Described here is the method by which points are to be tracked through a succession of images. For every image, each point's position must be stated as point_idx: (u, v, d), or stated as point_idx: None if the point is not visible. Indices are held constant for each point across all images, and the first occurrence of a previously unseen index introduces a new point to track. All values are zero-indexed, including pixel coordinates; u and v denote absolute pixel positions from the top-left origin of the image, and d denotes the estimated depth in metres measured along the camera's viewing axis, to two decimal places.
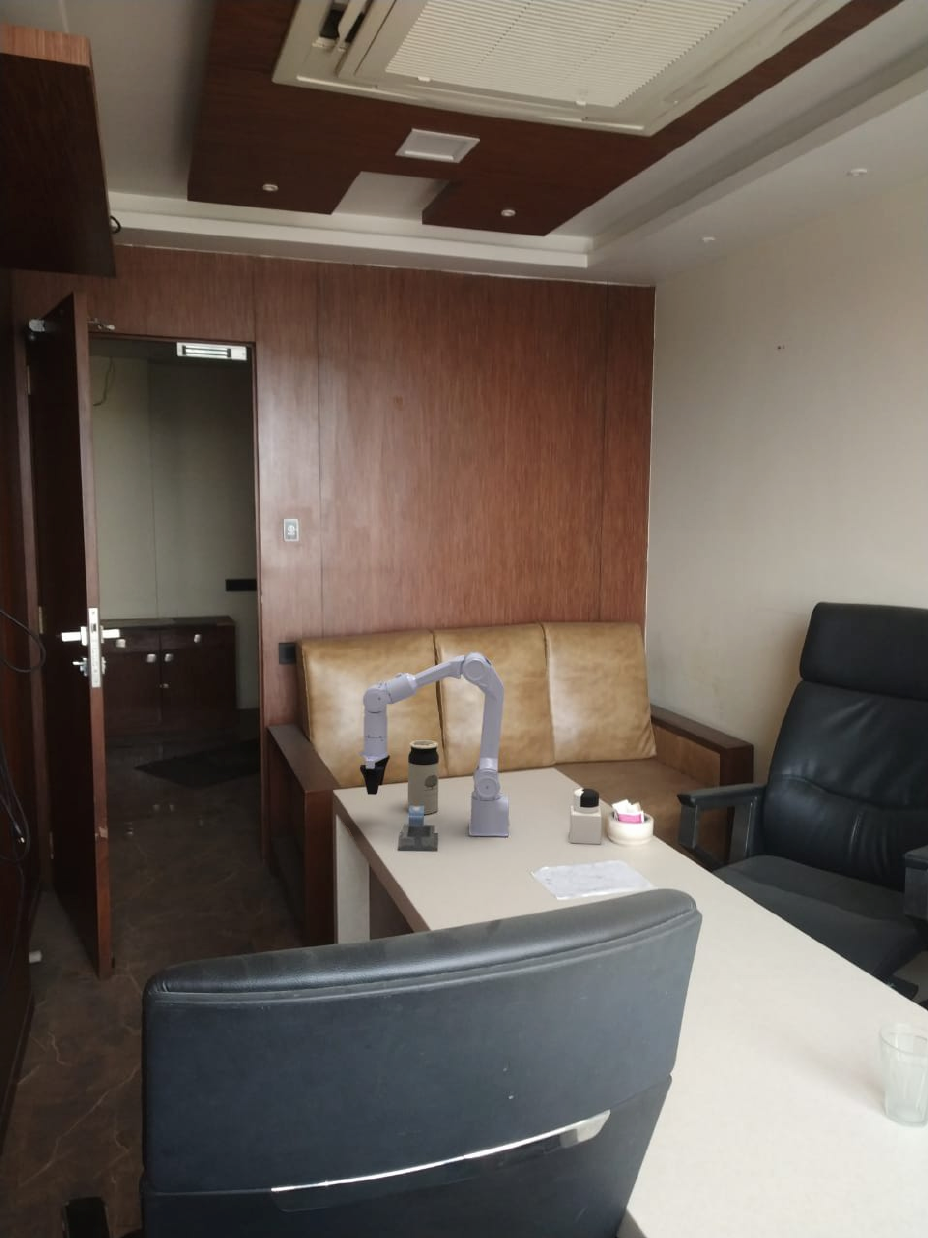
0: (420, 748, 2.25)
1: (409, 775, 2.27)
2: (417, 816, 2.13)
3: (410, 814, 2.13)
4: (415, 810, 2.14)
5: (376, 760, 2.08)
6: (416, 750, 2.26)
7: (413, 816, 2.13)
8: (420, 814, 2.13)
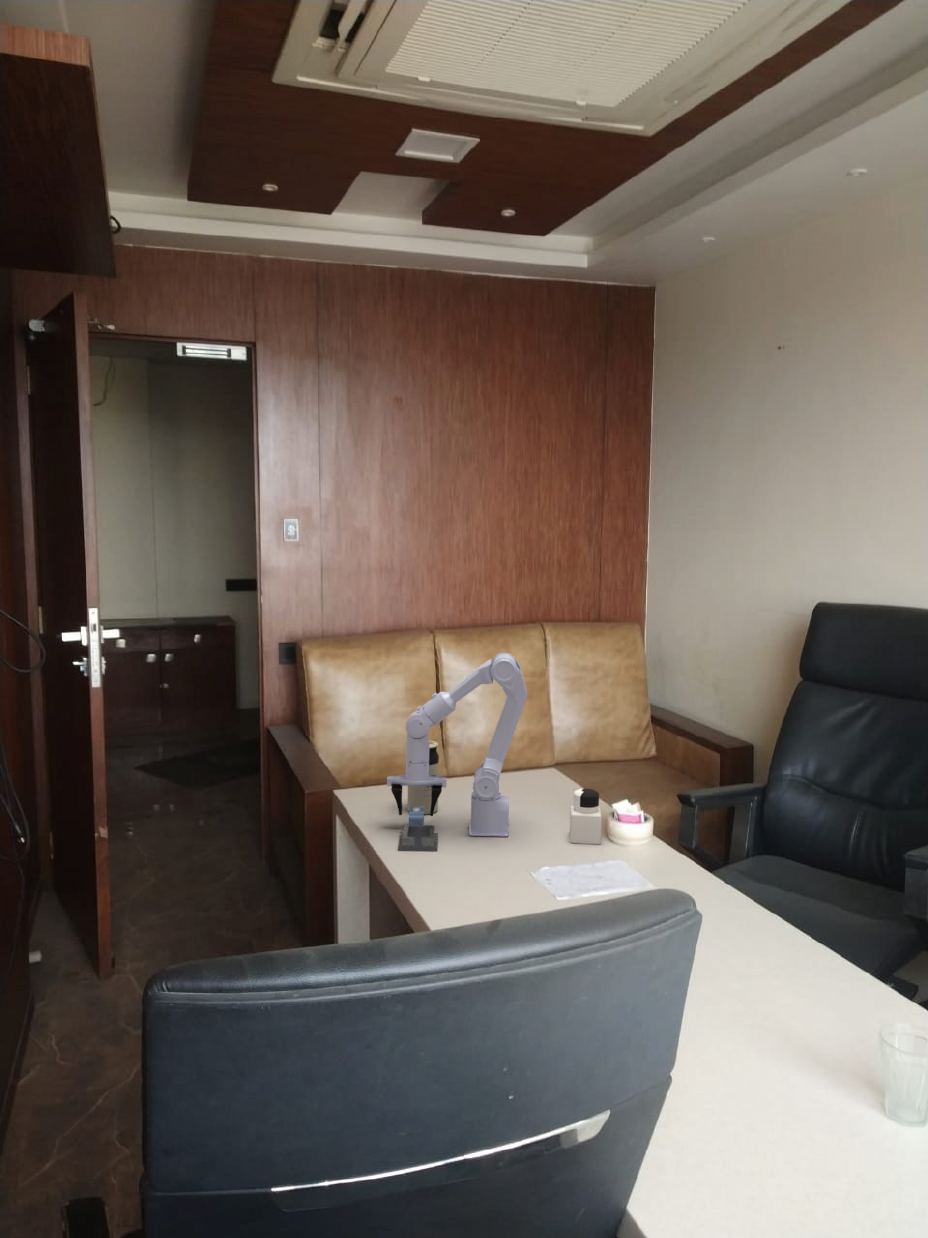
0: None
1: None
2: (417, 816, 2.13)
3: (410, 814, 2.13)
4: (415, 810, 2.14)
5: (394, 780, 2.14)
6: None
7: (413, 816, 2.13)
8: (420, 814, 2.13)
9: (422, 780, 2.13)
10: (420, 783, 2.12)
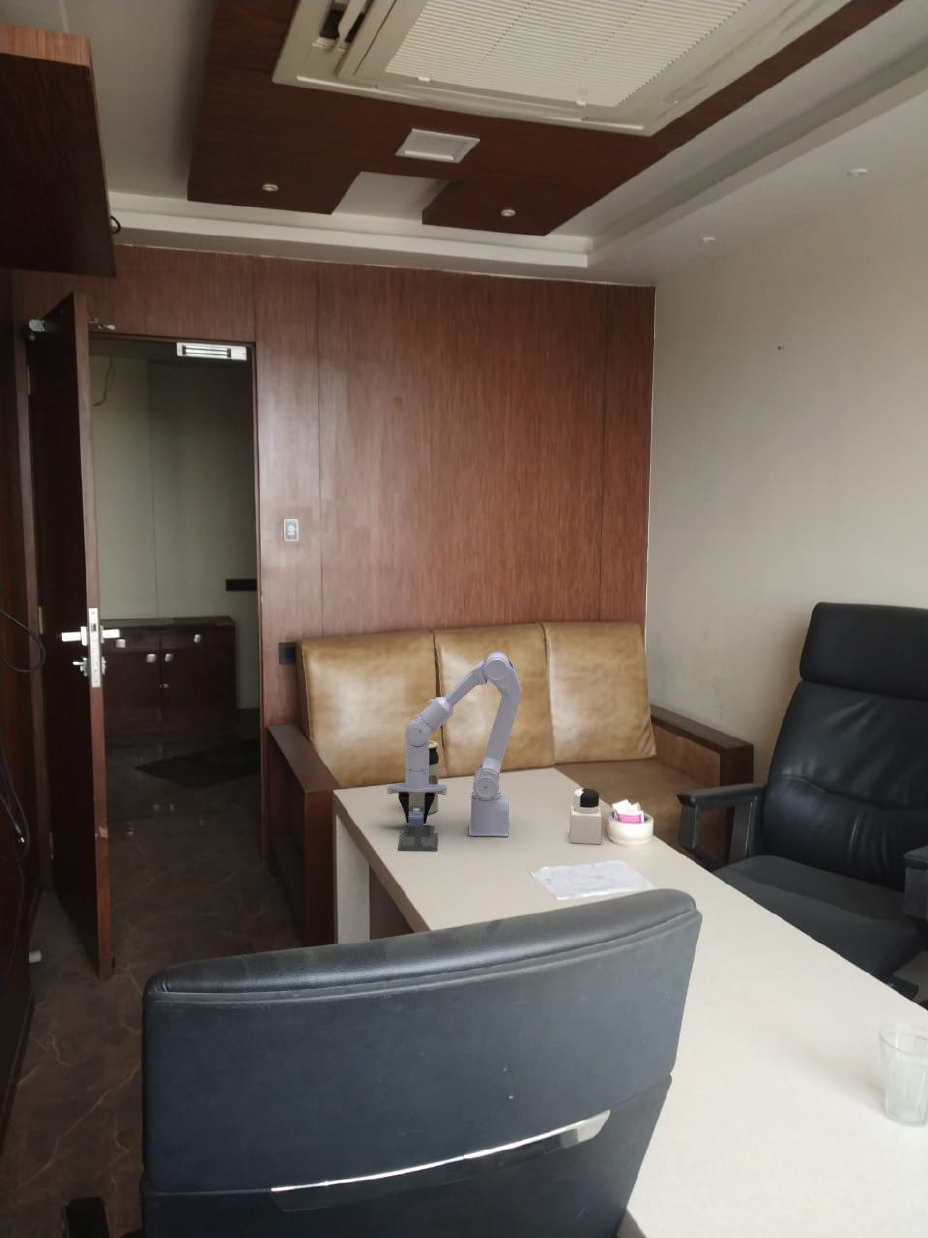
0: None
1: None
2: (417, 816, 2.13)
3: (410, 814, 2.13)
4: (415, 810, 2.14)
5: (394, 788, 2.14)
6: None
7: (413, 816, 2.13)
8: (420, 814, 2.13)
9: (422, 788, 2.13)
10: (420, 791, 2.12)
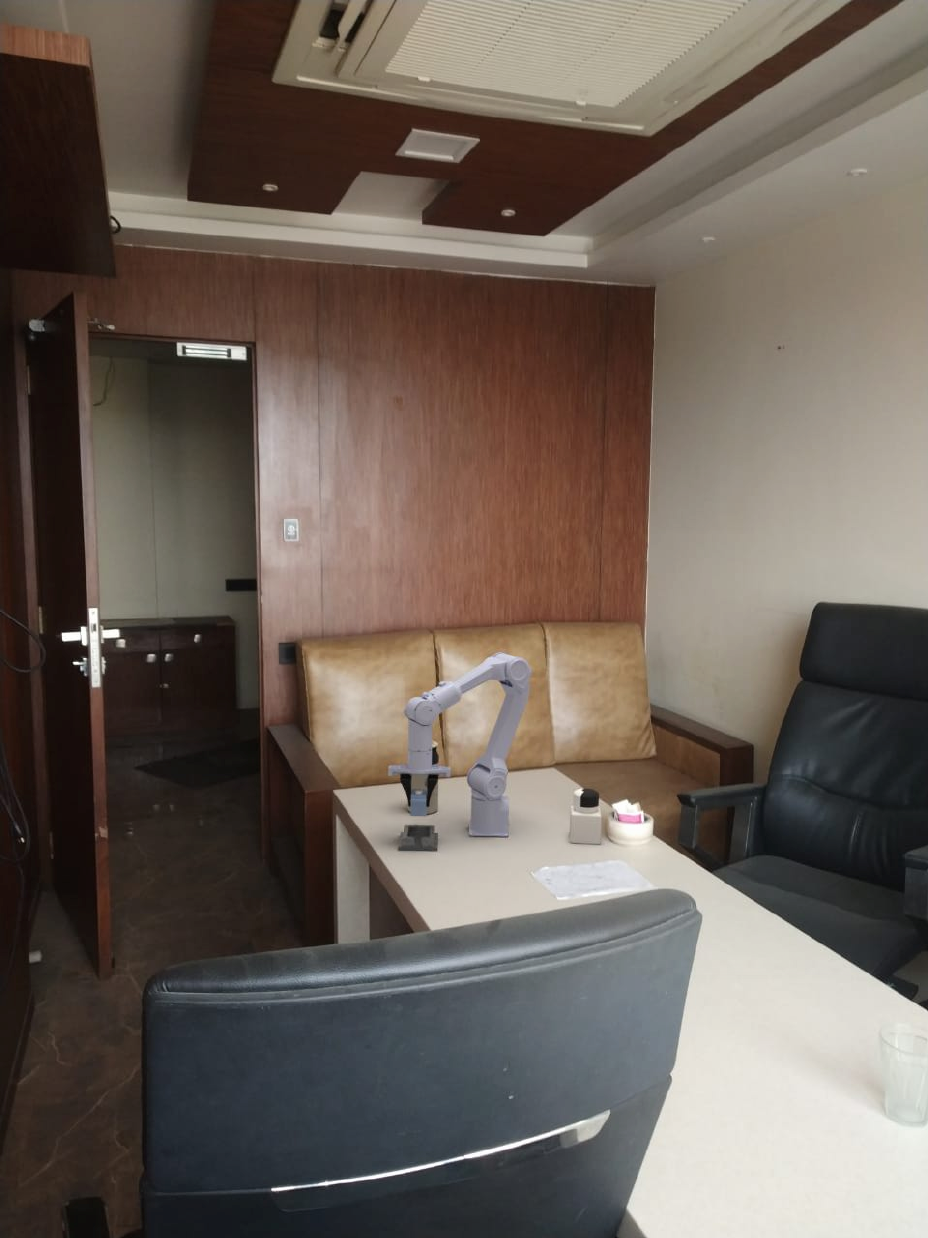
0: None
1: None
2: (419, 799, 2.03)
3: (412, 797, 2.03)
4: (417, 793, 2.04)
5: (395, 769, 2.04)
6: None
7: (415, 799, 2.03)
8: (423, 797, 2.03)
9: (425, 769, 2.03)
10: (423, 772, 2.02)
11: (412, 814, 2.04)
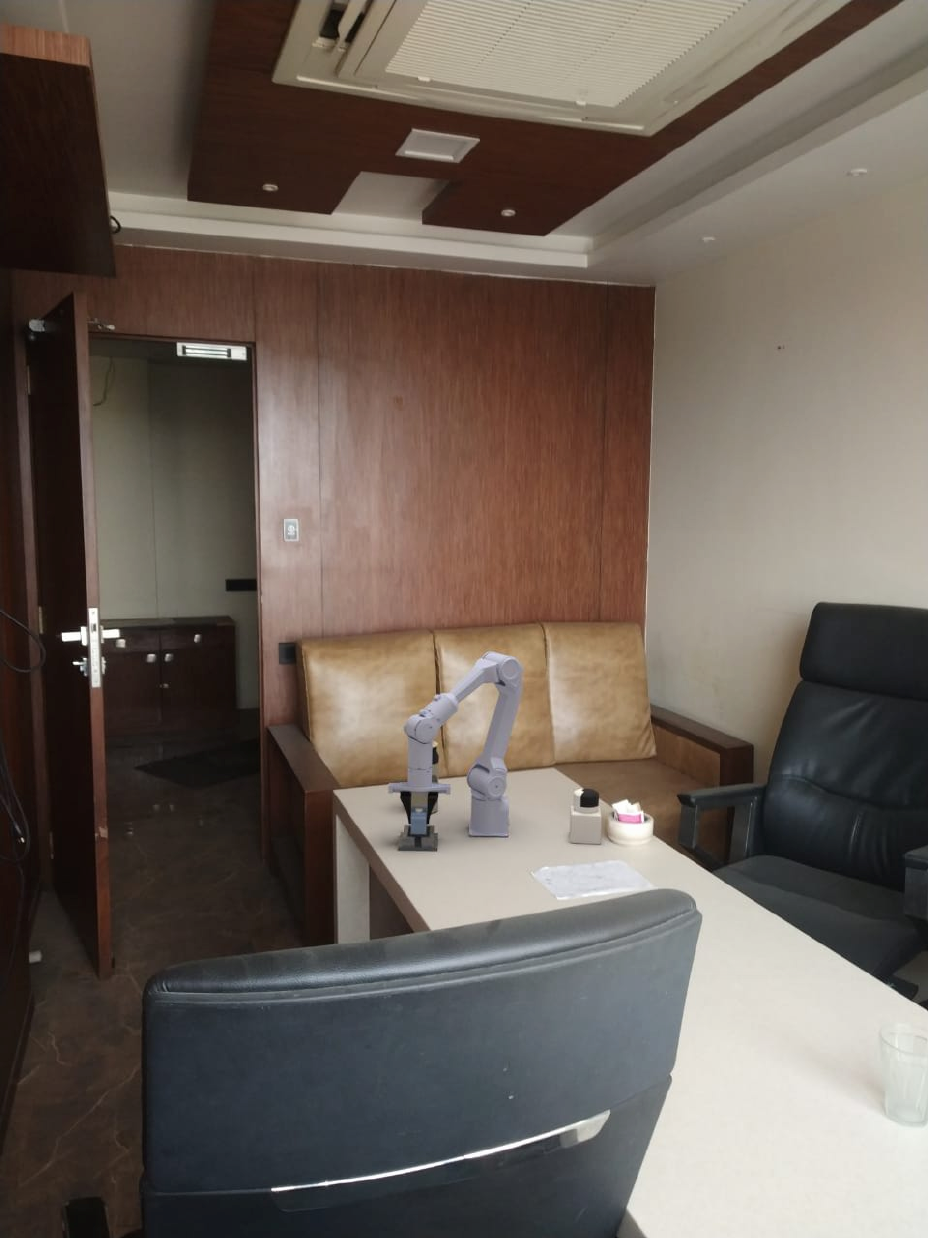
0: None
1: None
2: (420, 817, 2.03)
3: (412, 815, 2.03)
4: (418, 810, 2.04)
5: (395, 787, 2.04)
6: None
7: (415, 817, 2.03)
8: (423, 815, 2.03)
9: (425, 787, 2.02)
10: (423, 790, 2.02)
11: (412, 832, 2.04)
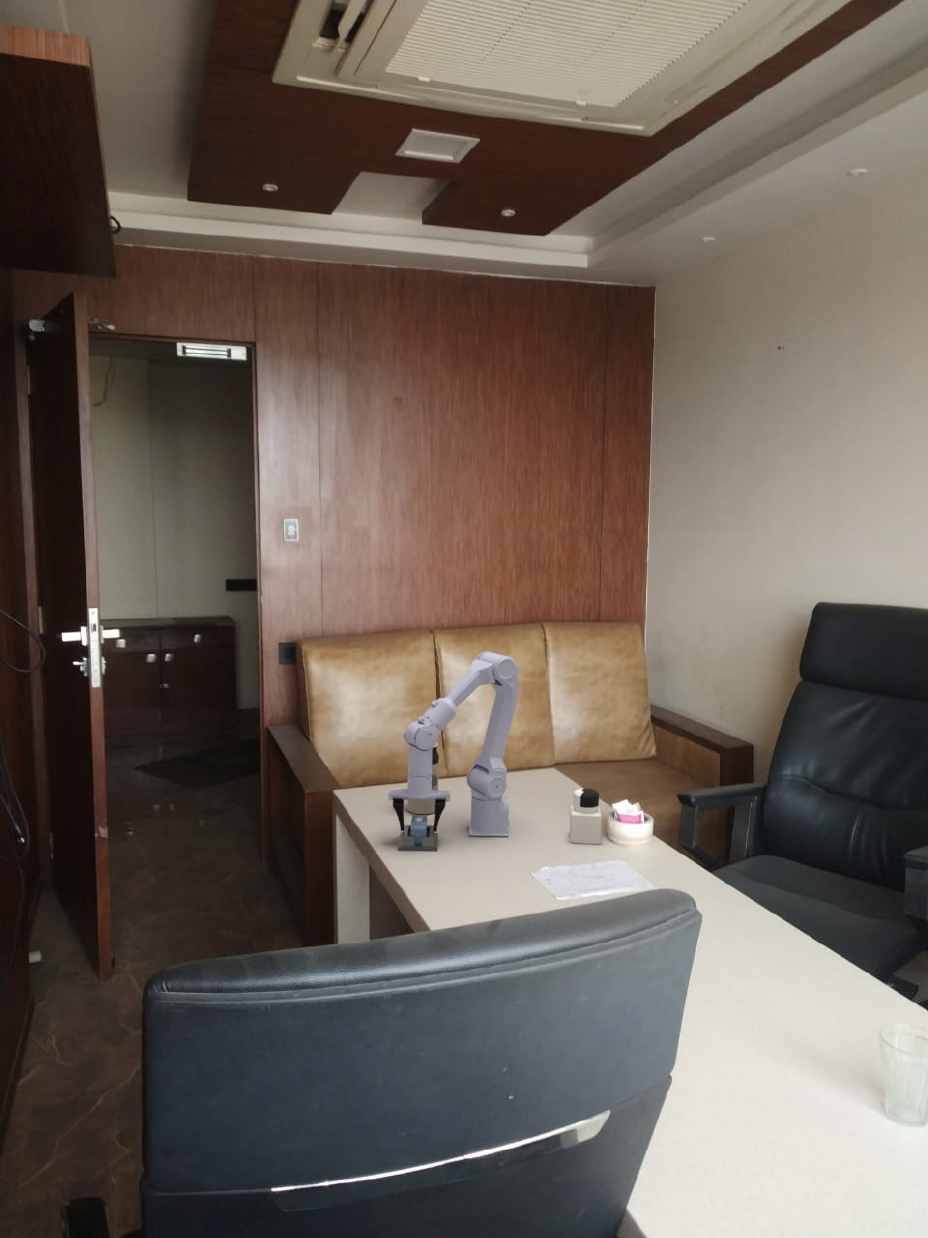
0: None
1: None
2: (420, 826, 2.03)
3: (412, 824, 2.03)
4: (417, 820, 2.04)
5: (395, 794, 2.04)
6: None
7: (415, 826, 2.03)
8: (423, 824, 2.03)
9: (425, 794, 2.03)
10: (423, 797, 2.02)
11: None
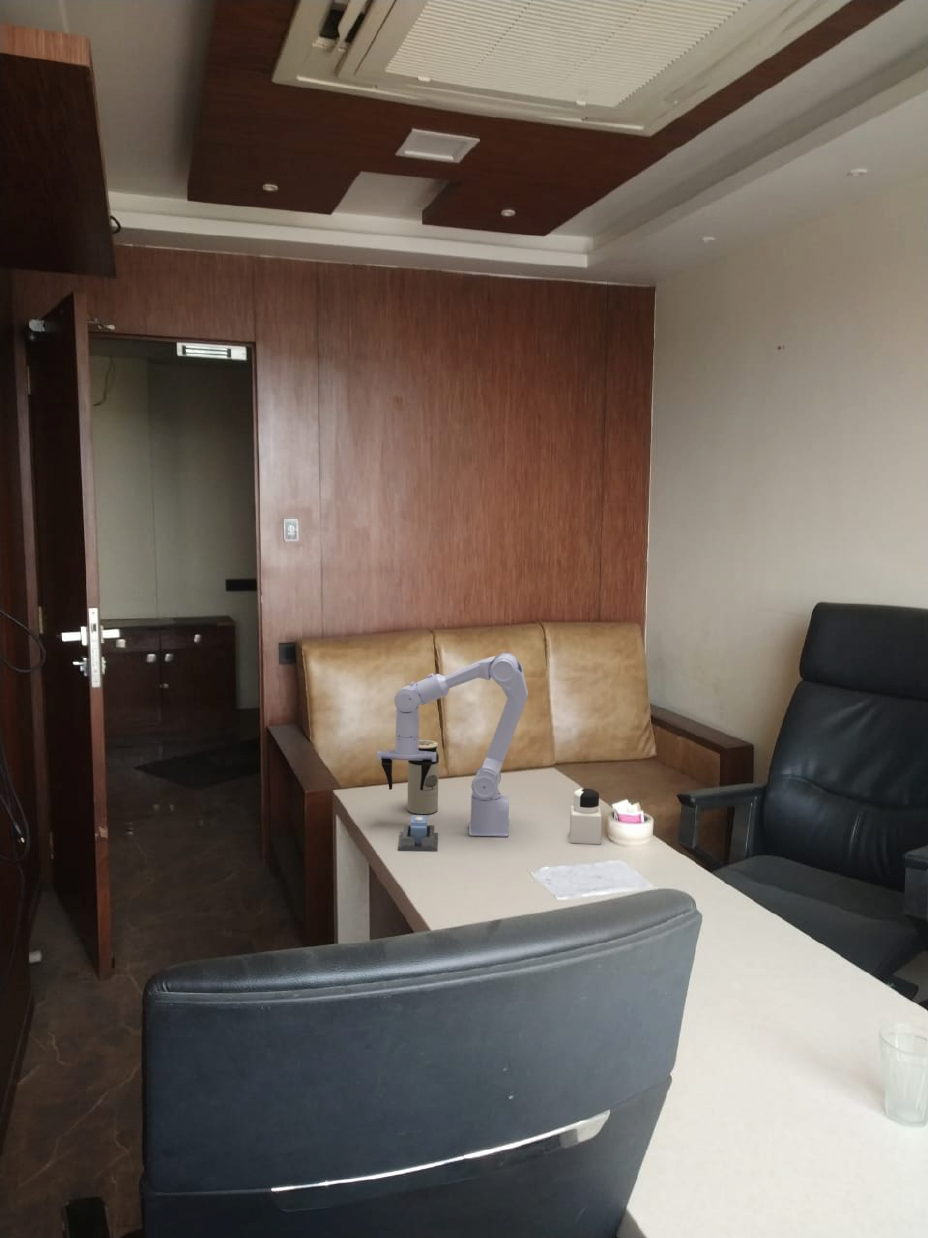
0: (420, 748, 2.25)
1: (409, 775, 2.27)
2: (420, 826, 2.03)
3: (412, 824, 2.03)
4: (417, 820, 2.04)
5: (384, 754, 2.15)
6: None
7: (415, 826, 2.03)
8: (423, 824, 2.03)
9: (412, 754, 2.14)
10: (410, 757, 2.13)
11: None
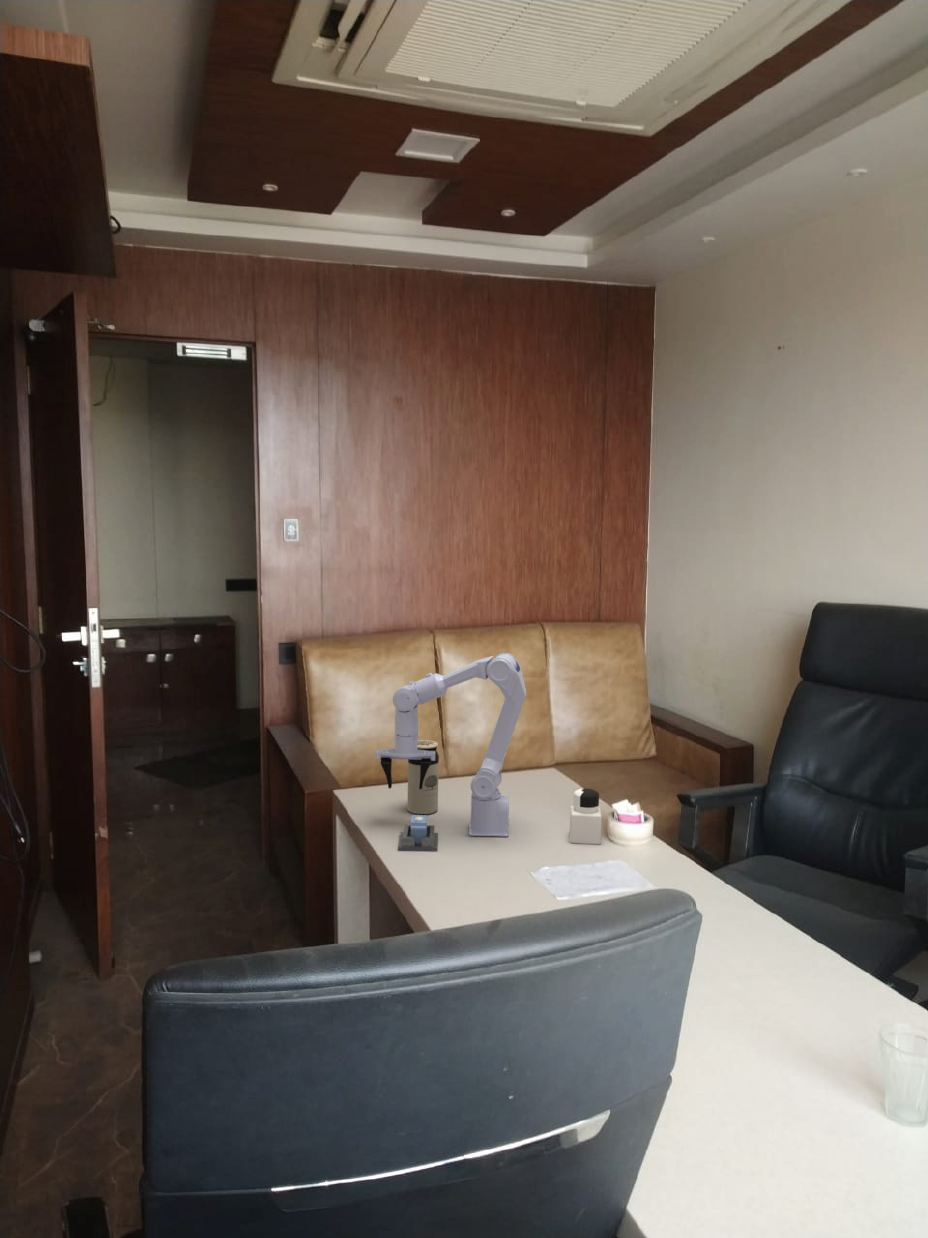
0: (420, 748, 2.25)
1: (409, 775, 2.27)
2: (420, 826, 2.03)
3: (412, 824, 2.03)
4: (417, 820, 2.04)
5: (383, 753, 2.16)
6: None
7: (415, 826, 2.03)
8: (423, 824, 2.03)
9: (411, 753, 2.15)
10: (409, 756, 2.15)
11: None
